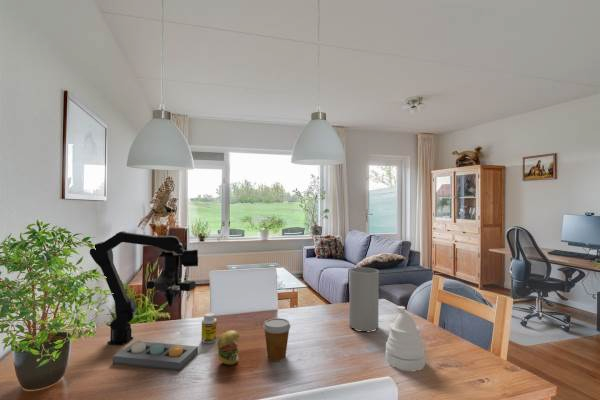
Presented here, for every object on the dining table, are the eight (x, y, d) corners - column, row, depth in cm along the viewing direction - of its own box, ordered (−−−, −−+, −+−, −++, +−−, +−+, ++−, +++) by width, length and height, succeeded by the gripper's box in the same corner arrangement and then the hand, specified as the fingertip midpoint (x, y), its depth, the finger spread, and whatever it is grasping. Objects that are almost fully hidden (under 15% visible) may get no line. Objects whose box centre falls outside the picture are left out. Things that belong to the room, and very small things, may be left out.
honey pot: (377, 356, 113) (378, 305, 114) (406, 350, 118) (406, 301, 119) (403, 374, 101) (403, 317, 102) (433, 366, 106) (433, 312, 107)
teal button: (147, 358, 108) (147, 348, 108) (154, 352, 112) (155, 343, 112) (158, 359, 107) (159, 350, 107) (166, 353, 112) (166, 344, 112)
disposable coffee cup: (293, 353, 115) (294, 319, 115) (284, 365, 106) (284, 329, 106) (269, 349, 118) (270, 316, 118) (258, 360, 109) (258, 325, 109)
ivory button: (128, 356, 109) (128, 347, 109) (137, 350, 114) (137, 341, 114) (140, 357, 109) (140, 348, 109) (148, 351, 113) (148, 342, 113)
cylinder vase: (356, 320, 149) (357, 266, 150) (382, 326, 142) (383, 269, 142) (344, 328, 139) (344, 270, 140) (371, 335, 132) (371, 274, 132)
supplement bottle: (203, 345, 121) (204, 317, 121) (199, 339, 126) (200, 313, 126) (218, 341, 124) (218, 315, 124) (213, 336, 129) (214, 311, 129)
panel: (112, 363, 106) (112, 356, 106) (136, 348, 118) (137, 340, 118) (179, 370, 102) (179, 362, 102) (197, 353, 114) (198, 346, 114)
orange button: (166, 360, 107) (166, 350, 107) (173, 354, 111) (173, 345, 111) (178, 361, 106) (178, 351, 106) (185, 355, 111) (185, 346, 111)
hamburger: (234, 369, 103) (234, 331, 104) (213, 367, 104) (213, 330, 105) (242, 358, 111) (242, 323, 111) (222, 356, 112) (223, 321, 112)
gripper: (137, 270, 123) (136, 311, 122) (182, 272, 120) (181, 314, 119) (155, 265, 134) (154, 302, 133) (196, 266, 131) (196, 305, 130)
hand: (170, 306), depth 129 cm, fingers closed
